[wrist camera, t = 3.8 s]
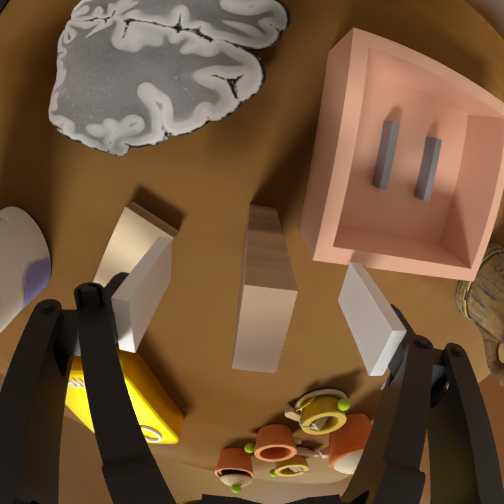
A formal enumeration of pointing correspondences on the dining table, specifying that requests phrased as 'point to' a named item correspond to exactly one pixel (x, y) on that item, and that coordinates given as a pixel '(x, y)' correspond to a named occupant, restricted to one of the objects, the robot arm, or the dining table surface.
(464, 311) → the wooden mug
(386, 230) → the pink open box
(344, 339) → the dining table surface
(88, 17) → the brain slice
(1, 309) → the container
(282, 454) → the toy tea set
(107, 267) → the beige wooden plank
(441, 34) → the dining table surface
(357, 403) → the dining table surface
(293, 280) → the tall beige block
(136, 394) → the element tile
